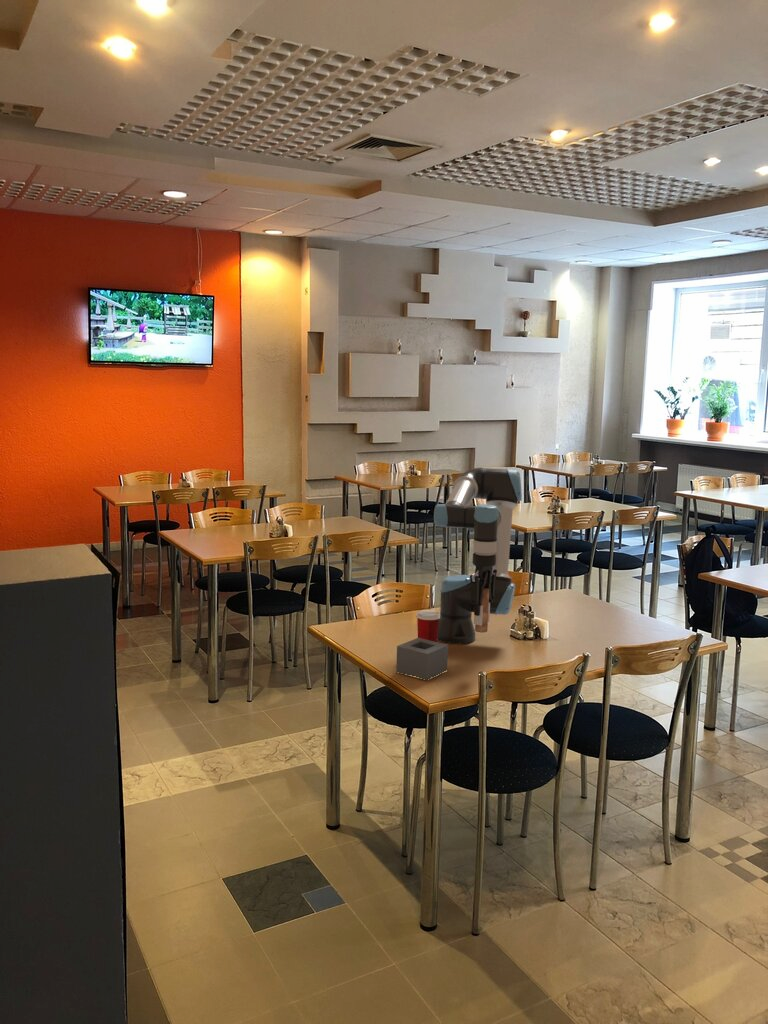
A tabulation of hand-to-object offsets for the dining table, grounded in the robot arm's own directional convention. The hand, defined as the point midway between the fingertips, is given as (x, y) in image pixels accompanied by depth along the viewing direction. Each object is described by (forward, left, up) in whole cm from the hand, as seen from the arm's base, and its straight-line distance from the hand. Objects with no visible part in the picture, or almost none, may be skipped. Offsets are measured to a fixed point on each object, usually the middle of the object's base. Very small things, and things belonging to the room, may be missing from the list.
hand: (481, 622), depth 280 cm
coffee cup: (-3, -23, -17) cm, 28 cm away
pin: (0, 0, -3) cm, 3 cm away
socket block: (+13, -14, -17) cm, 25 cm away
